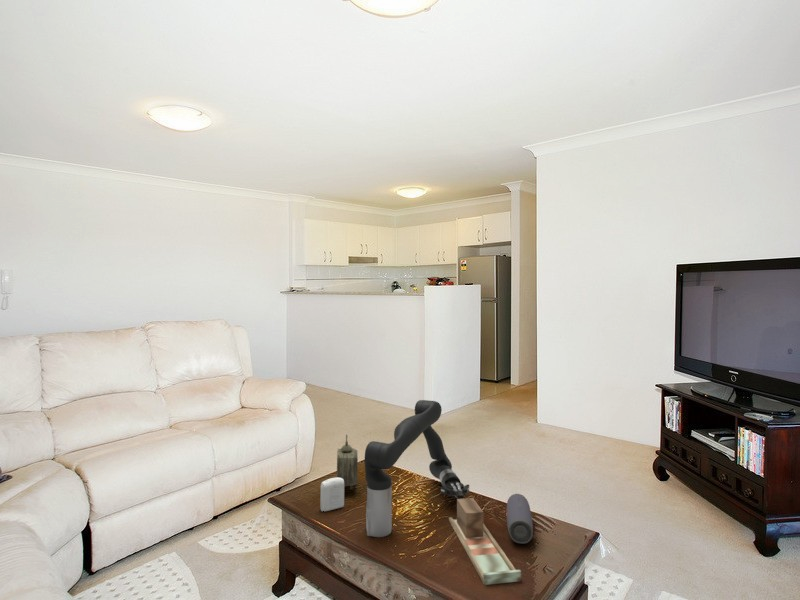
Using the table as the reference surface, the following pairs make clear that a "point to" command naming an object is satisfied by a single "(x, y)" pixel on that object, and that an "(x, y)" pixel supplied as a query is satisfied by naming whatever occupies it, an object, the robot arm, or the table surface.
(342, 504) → the photo printer
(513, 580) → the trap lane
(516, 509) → the bluetooth speaker
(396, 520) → the table surface
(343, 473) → the grey-brown tall piece
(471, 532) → the walnut block
